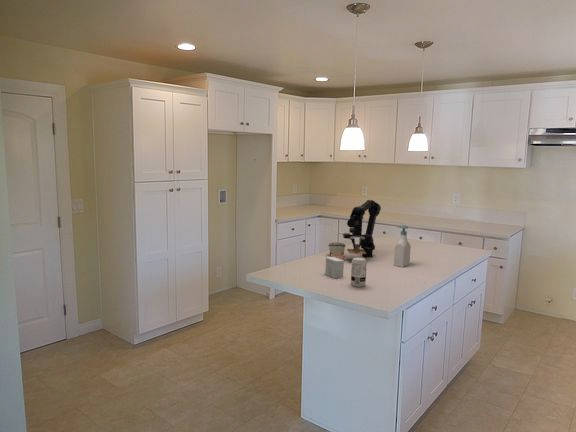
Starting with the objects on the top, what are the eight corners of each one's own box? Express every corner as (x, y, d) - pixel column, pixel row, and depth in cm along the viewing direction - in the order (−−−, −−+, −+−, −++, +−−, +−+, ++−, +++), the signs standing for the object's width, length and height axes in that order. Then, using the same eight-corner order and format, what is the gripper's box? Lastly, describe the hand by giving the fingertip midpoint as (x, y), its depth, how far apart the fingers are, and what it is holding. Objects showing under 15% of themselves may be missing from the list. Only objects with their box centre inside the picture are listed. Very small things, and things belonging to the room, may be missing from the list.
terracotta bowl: (342, 260, 294) (343, 253, 293) (344, 263, 285) (345, 256, 284) (329, 259, 294) (330, 253, 293) (331, 263, 285) (331, 256, 284)
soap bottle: (398, 262, 292) (400, 223, 288) (409, 264, 287) (412, 224, 283) (391, 265, 283) (393, 225, 279) (402, 267, 278) (405, 226, 274)
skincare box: (343, 277, 252) (344, 260, 250) (334, 278, 248) (335, 261, 247) (333, 272, 261) (334, 256, 259) (324, 274, 257) (325, 257, 256)
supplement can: (349, 282, 241) (350, 257, 239) (363, 282, 241) (364, 257, 239) (352, 287, 233) (353, 260, 231) (367, 287, 233) (368, 260, 231)
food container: (344, 256, 306) (345, 242, 304) (345, 258, 300) (345, 244, 298) (327, 255, 307) (328, 241, 306) (327, 257, 301) (328, 243, 299)
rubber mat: (362, 259, 296) (362, 259, 296) (366, 264, 284) (366, 263, 284) (345, 259, 296) (345, 258, 296) (348, 263, 284) (348, 263, 284)
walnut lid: (362, 250, 294) (363, 243, 294) (366, 253, 283) (366, 246, 283) (347, 250, 294) (347, 243, 293) (349, 253, 283) (350, 246, 282)
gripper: (368, 224, 295) (367, 246, 297) (342, 223, 294) (341, 245, 296) (372, 227, 284) (371, 249, 286) (344, 226, 283) (343, 249, 285)
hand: (356, 248), depth 288 cm, fingers closed on walnut lid, 3 cm apart
